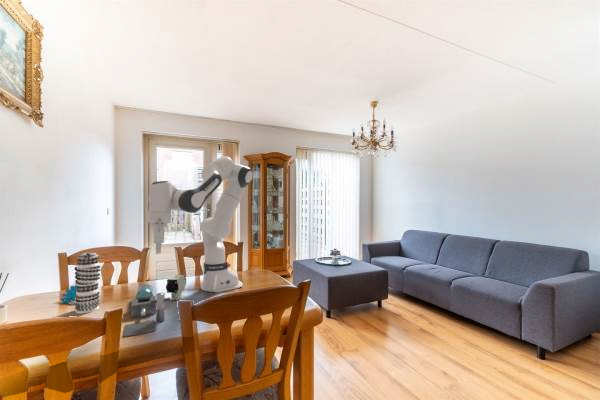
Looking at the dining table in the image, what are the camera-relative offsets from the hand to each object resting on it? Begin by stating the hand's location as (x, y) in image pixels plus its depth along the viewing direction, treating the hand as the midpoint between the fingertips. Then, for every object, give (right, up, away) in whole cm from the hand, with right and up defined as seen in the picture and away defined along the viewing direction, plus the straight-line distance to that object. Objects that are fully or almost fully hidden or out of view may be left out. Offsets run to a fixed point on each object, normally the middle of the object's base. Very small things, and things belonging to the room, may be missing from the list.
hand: (158, 251), depth 116 cm
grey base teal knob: (-10, -27, +7) cm, 30 cm away
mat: (-1, -27, -12) cm, 30 cm away
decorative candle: (-34, -27, +5) cm, 44 cm away
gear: (-48, -27, +15) cm, 57 cm away
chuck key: (+4, -27, -5) cm, 28 cm away
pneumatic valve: (0, -27, +19) cm, 33 cm away
